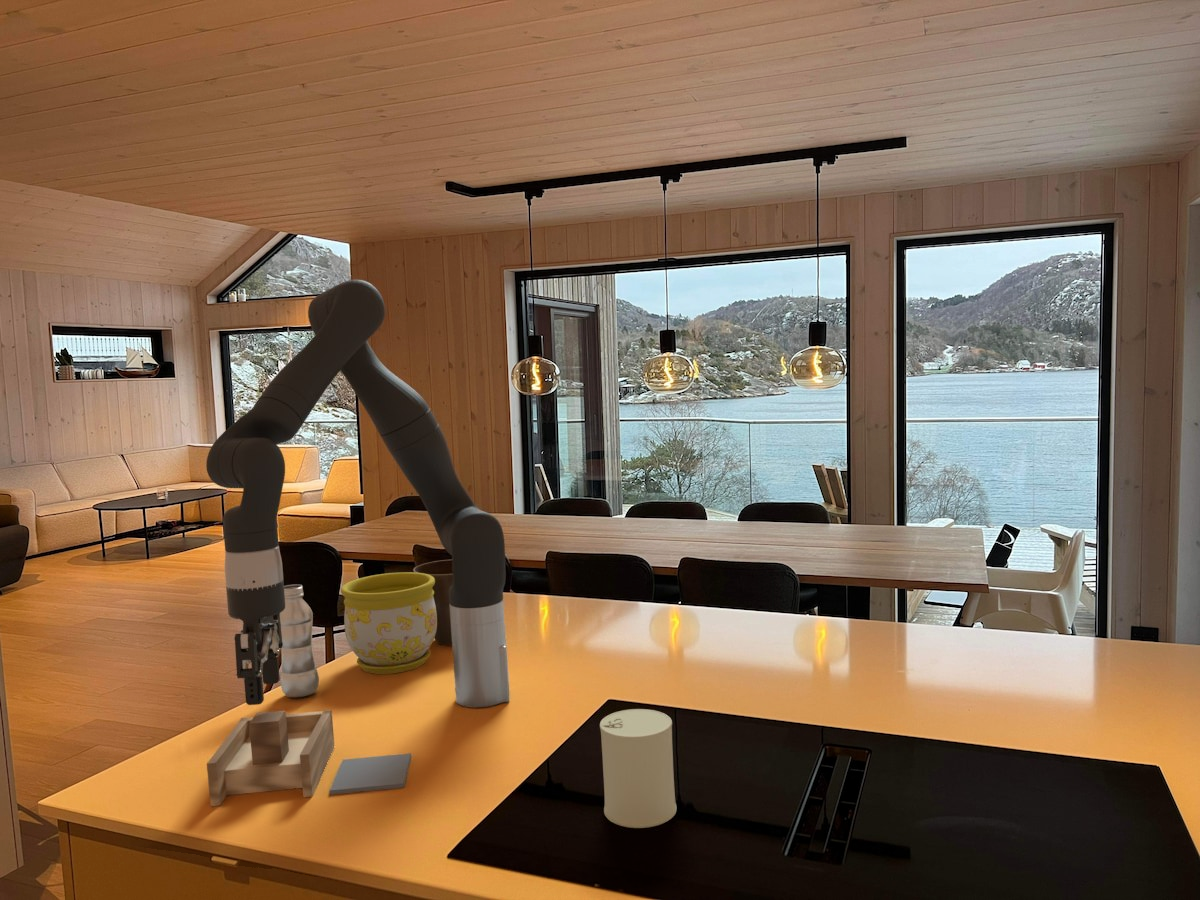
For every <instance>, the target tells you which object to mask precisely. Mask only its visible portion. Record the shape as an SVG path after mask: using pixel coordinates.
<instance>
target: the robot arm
mask: <svg viewBox="0 0 1200 900" xmlns="http://www.w3.org/2000/svg"><path fill="white" fill-rule="evenodd" d="M307 315H308V322H309V324H310V327H311V330H312V332H313V334H314V336H313V337H312V339H311V340H309V342H308V343H307V344H306V345H305V346H304V347H303V348H302V349H301V350H300V351H299V352H298V353H297V354H296V355H295V356H294V357H293V358H292V359H291V360H289V361H288V363H287V364H285V366H283V368H282V369H281V370H279V372H278V373H276V375H275V376H274V378H273V379H272V380H271V381H270V383H269V384H268V385H267V386H266V388H265V389H264V390H263V392H262V394H261V395H260V396H259V398H258V399H257V400H256V402H255V404H254V405H253V406H252V408H251V409H250V410H248V411H247V412H246V413H244V414H243V415H242V416H241V417H239V418H238V419H237V420H236V421H235V422H233V424H231V425H230V426H229V427H228V428H226V430H225V431H223V433H222V434H221V435H219V436H218V438H217V439H216V440H215V441H214V442H213V444H212V445H211V447H210V449H209V452H208V453H207V456H206V463H205V464H206V466H205V467H206V472H207V475H208V477H209V479H210V480H211V482H213V483H214V484H215V485H217V486H219V487H222V488H226V489H242V496H241V501H240V505H237V506H234V507H231V508H229V509H227V510H226V511H225V512H224V514H223V520H222V524H223V526H222V527H223V540H224V551H225V552H224V553H225V555H224V556H225V557H224V575H225V576H224V578H225V589H226V600H227V601H226V603H227V613H228V616H229V617H230V618H231V619H234V620H241V621H242V629H241V630H240V633H235V635H234V646H235V647H234V649H235V664H236V665H235V666H236V678H237V679H242V680H243V682H244V693H245V704H246V705H248V706H257V705H261V704H262V703H263V702H264V701H265V699H264V696H265V695H264V685H275V684H278V683H279V681H281V675H280V665H279V656H280V654H281V648H282V646H283V642H282V633H281V622H280V613H281V612H282V611H283V610H284V609H285V594H284V586H285V582H284V571H283V561H282V555H281V551H280V546H279V545H280V544H279V533H278V532H279V531H278V520H277V519H278V512H279V508H280V504H281V498H282V492H283V487H284V481H285V476H286V462H285V457H284V454H283V452H282V450H281V448H280V447H279V446H278V444H282V443H286V442H289V441H290V440H292V439H293V438H294V437H295V436H296V435H297V433H298V432H299V431H300V429H301V427H302V426H303V424H304V423H305V422H306V420H307V418H308V417H309V416H310V414H311V412H312V411H313V409H314V408H315V406H316V405H317V403H318V402H319V401H320V399H321V397H322V396H323V395H324V393H325V392H326V390H327V389H328V387H329V386H330V384H331V383H332V382H333V381H334V379H335V378H336V377H337V375H338V374H339V373H340V372H341V374H342V375H343V376H344V378H345V379H346V381H347V382H348V383H349V385H350V387H351V389H352V390H353V391H354V393H355V395H356V397H357V398H358V401H359V402H360V403H361V404H362V406H363V409H364V410H365V412H366V413H367V415H368V416H369V418H370V419H371V421H372V423H373V424H374V427H375V428H376V430H377V432H378V434H379V437H381V439H382V441H383V442H384V445H385V446H386V448H387V450H388V452H389V453H390V455H391V456H392V458H393V459H394V461H395V462H396V464H397V466H398V467H399V468H400V470H401V472H402V474H403V475H404V476H405V478H406V479H407V481H408V482H409V483H410V485H411V487H413V489H414V490H415V492H416V493H417V494H418V497H419V498H420V500H421V502H422V503H423V505H424V507H425V509H426V512H427V513H428V516H429V518H430V520H431V523H432V524H433V527H434V529H435V532H436V533H437V536H438V538H439V540H440V543H441V545H442V548H444V549H445V551H446V552H447V553H448V554H449V555H450V556H451V560H452V565H453V583H452V585H451V586H450V588H449V606H450V621H451V635H452V645H451V647H452V648H451V649H452V659H453V660H452V662H453V676H454V691H455V701H456V704H458V705H460V706H462V707H467V708H488V707H492V706H496V705H498V704H499V705H500V704H502V703H508V702H510V681H509V680H510V679H509V664H508V662H509V661H508V647H507V637H506V623H505V610H504V609H505V608H504V607H505V606H504V587H505V585H506V578H507V577H506V575H507V574H506V573H507V571H506V548H505V547H506V546H505V545H506V544H505V536H504V530H503V528H502V525H501V523H500V521H499V520H498V519H497V517H496V516H494V515H492V514H491V513H489V512H487V511H485V510H481V509H480V508H479V507H478V506H477V505H476V503H475V502H474V501H473V499H472V497H471V496H469V494H468V492H467V490H466V489H465V488H464V486H463V484H462V483H461V481H460V479H459V478H458V475H457V473H456V470H455V467H454V464H453V460H452V456H451V451H450V449H449V446H448V442H447V439H446V437H445V435H444V433H443V430H442V428H441V426H440V424H439V423H438V422H439V421H437V419H436V417H435V416H434V413H433V412H432V410H431V408H430V406H429V405H428V404H427V402H426V400H425V398H424V397H422V396H421V394H419V392H417V391H416V390H415V389H414V388H413V387H411V386H410V385H409V384H408V383H406V382H405V381H403V379H402V378H399V377H398V376H397V375H395V374H394V373H393V372H392V371H390V370H389V369H388V368H387V367H386V366H385V365H384V364H383V363H382V362H381V361H380V358H378V357H377V355H376V353H375V352H374V350H373V348H372V347H371V346H370V344H369V342H368V340H369V339H370V338H371V337H372V336H373V335H374V334H375V333H376V332H377V331H378V330H379V329H380V327H381V326H382V325H383V323H384V320H385V316H386V305H385V302H384V298H383V296H382V294H381V292H380V291H379V290H378V289H377V288H376V287H375V286H374V284H372V283H370V282H368V281H366V280H363V279H350V280H347V281H343V282H340V283H338V284H337V285H334V286H333V287H331V288H329V289H327V290H325V291H323V292H321V293H319V294H318V295H317V296H315V297H313V298H312V299H311V301H310V303H309V306H308V311H307ZM249 664H251V667H250V668H249Z"/></svg>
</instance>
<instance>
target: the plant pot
mask: <svg viewBox="0 0 1200 900" xmlns="http://www.w3.org/2000/svg"><path fill="white" fill-rule="evenodd" d="M413 572H414V573H424V574H428V575H431V576H433V577H434V579H435V584H434V586H433V587H432V589H433V591H434V595H433V597H434V602H435V606H436V612H437V629H436V634H435V637H434V641H435V643H437V644H439V645H443V646H452V635H451V621H450V606H449V588H450V586H451V585H452V583H453V565H452V559H443V560H435V561H431V562H426V563H422V564H419V565H417V566H414V568H413Z"/></svg>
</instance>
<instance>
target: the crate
mask: <svg viewBox="0 0 1200 900" xmlns="http://www.w3.org/2000/svg"><path fill="white" fill-rule="evenodd" d="M253 717H254V716H252V717H243V718H242V717H241V718H240V719H239V721H238V722H237V724H236V725H235V726H234V727H233V729H232V730H231V732H230V733H229V734H228V735H227V737H226V738H225V739H224V740H223V742H222V743H221V744H220V745H219V747H218V749H217V750H216V751H215V753H213V755H212V756H211V757H210V759H209V760H208V761H207V763H206V770H207V771H206V772H207V781H208V782H207V783H208V791H209V801H210V807H220V806H221V804H222V803H223V801H224V800H225V799H226V797H227V796H231V795H233V796H234V795H241V794H243V795H244V794H253V793H263V792H272V791H273V792H274V791H282V790H284V789H285V790H293V789H294V788H296V789H302V794H303V795H302V797H303V798H312V797H314V794H315V792H316V790H317V788H318V786H319V783H320V781H321V779H320V778H322V777H323V775H322V774H324V773H323V772H325V770H326V768H327V766H328V764H327V762H328V760H329V761H330V759H331V757H332V755H331V753H332V751H333V749H334V750H335V748H334V746H335V738H334V737H335V735H334V726H333V725H334V724H333V712H332V710H323V711H322V710H320V711H309V712H308V711H307V712H298V713H286V722H287V734H288V745H289V752H288V753H287V755H286V757H285V759H284V760H283V762H282V763H271V764H260V765H253V762H252V751H251V740H250V729H249V723H250V722H251V720H252V719H253ZM333 752H334V751H333ZM332 754H333V753H332ZM330 756H331V757H330ZM329 758H330V759H329ZM328 763H329V762H328ZM326 765H327V766H326ZM325 767H326V768H325ZM324 769H325V770H324ZM321 776H322V777H321ZM317 785H318V786H317ZM294 790H295V789H294Z"/></svg>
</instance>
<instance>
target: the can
mask: <svg viewBox="0 0 1200 900" xmlns="http://www.w3.org/2000/svg"><path fill="white" fill-rule="evenodd" d="M599 729H600V737H601V753H602V772H603V788H604V789H603V791H604V807H603V813H604V816H605V817H606V818H607V820H608V821H610V822H611V823H613V824H615V825H618V826H619V827H620V826H621V827H625V828H631V829H632V828H633V829H644V828H645V829H646V828H652V827H657V826H660V825H663V824H664V823H665V824H666V822H669V820H671V819H672V818H674V816H675V815H676V813H677V803H676V796H675V795H676V794H675V792H676V791H675V780H674V779H675V778H674V777H675V776H674V775H675V773H674V757H673V756H674V755H673V754H674V753H673V751H674V750H673V720H672V718H671V717H670V716H669V715H667V714H666V713H664V712H661V711H658V710H655V709H645V708H631V709H623V710H620V711H615V712H613V713H610V714H608V715H605V716H604V717H603V718H602V719H601V720H600V723H599Z"/></svg>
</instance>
